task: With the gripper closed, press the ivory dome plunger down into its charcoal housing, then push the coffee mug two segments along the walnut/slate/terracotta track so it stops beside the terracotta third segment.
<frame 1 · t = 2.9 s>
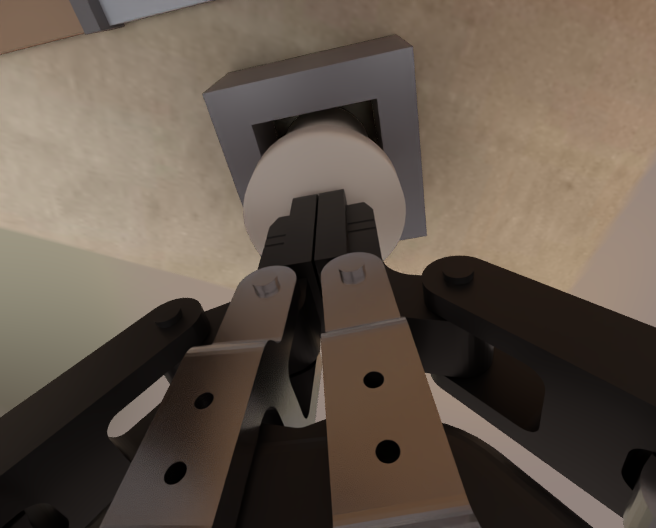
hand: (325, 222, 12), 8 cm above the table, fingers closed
dome plunger: (325, 179, 14), point 5 cm above the table, slide at 0.6 cm, touching gripper
dome housing: (327, 138, 18), on the table
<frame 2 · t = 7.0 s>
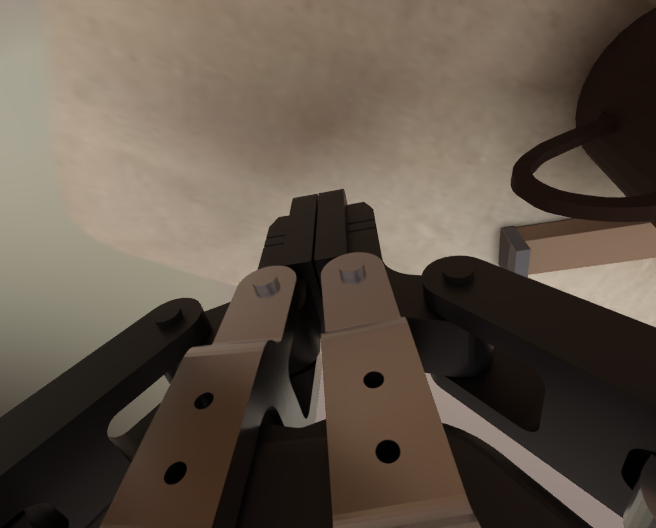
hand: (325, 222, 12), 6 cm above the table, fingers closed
coffee mug: (628, 77, 15), on the table
walnut segment: (607, 231, 19), on the table
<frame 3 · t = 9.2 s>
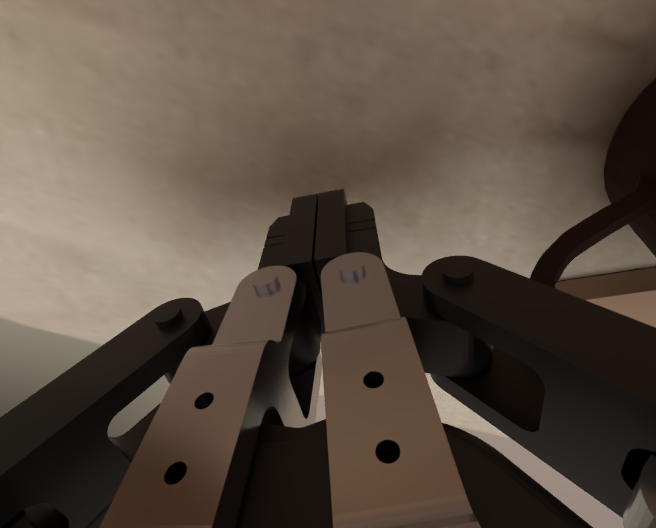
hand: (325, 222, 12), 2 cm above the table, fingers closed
walnut segment: (581, 296, 16), on the table
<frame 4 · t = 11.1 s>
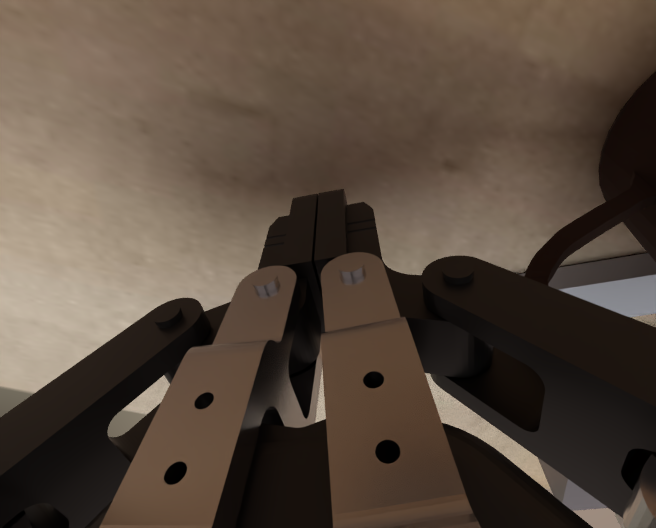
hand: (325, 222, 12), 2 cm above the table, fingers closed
dome plunger: (654, 458, 17), point 4 cm above the table, slide at 1.6 cm
slate segment: (568, 285, 16), on the table
dome housing: (606, 385, 19), on the table
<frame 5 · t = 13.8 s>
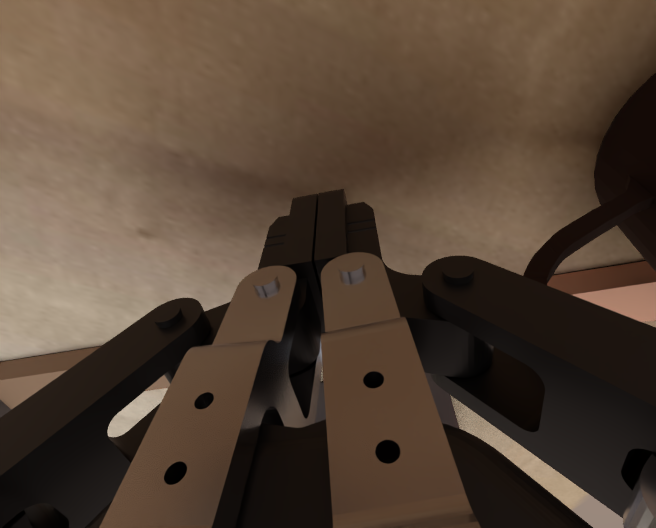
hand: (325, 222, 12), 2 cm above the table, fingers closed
dome housing: (378, 418, 21), on the table
terracotta segment: (536, 296, 16), on the table
walnut segment: (94, 363, 19), on the table
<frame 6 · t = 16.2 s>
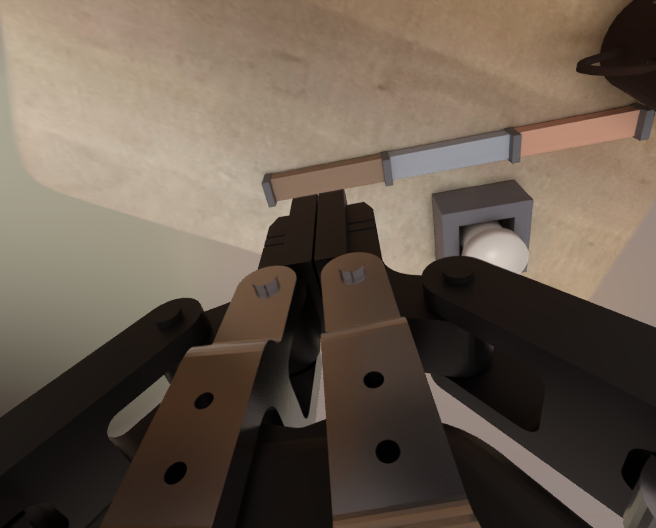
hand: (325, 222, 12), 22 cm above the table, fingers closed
dome plunger: (484, 242, 34), point 4 cm above the table, slide at 1.6 cm
coffee mug: (629, 32, 28), on the table
slate segment: (441, 153, 33), on the table
dome housing: (472, 221, 37), on the table
terracotta segment: (568, 130, 32), on the table
walnut segment: (324, 175, 34), on the table
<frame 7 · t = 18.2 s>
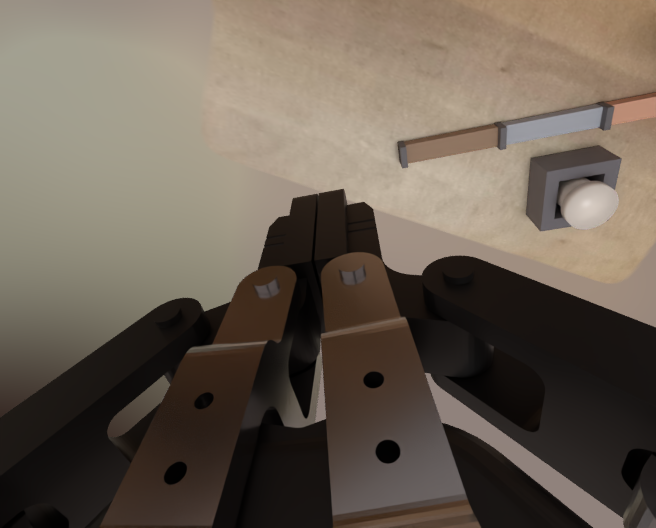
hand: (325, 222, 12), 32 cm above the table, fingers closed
dome plunger: (576, 195, 42), point 4 cm above the table, slide at 1.6 cm
slate segment: (543, 124, 41), on the table
dome housing: (560, 181, 45), on the table
terracotta segment: (647, 103, 40), on the table
walnut segment: (445, 142, 42), on the table
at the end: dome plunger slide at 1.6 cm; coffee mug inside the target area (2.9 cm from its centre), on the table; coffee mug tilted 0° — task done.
